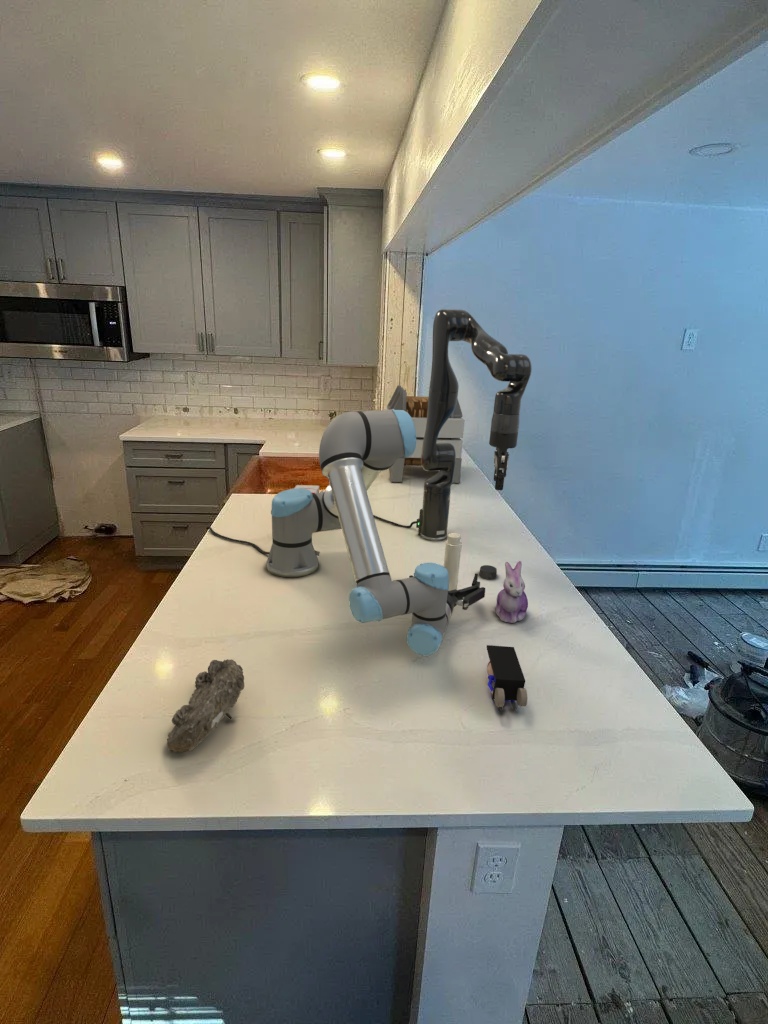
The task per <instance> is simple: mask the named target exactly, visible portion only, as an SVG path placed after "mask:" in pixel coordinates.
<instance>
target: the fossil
mask: <svg viewBox="0 0 768 1024" xmlns="http://www.w3.org/2000/svg"><path fill="white" fill-rule="evenodd" d="M243 670H244V669H243V667H242V665H240V664H237V662H236V661H235V660H234V659H232V658H231V659H227V658H226V659H224V660H223V661H222V660H217V659H212V660H211V661H210V663H209V665H208V666H207V671H201V672H199V673H198V674H197V675H196V676H195V680H194V684H195V685H194V687H195V689H194V690H193V693H192V694H191V697H190V698H189V700H188V704H184V705H182V706H181V707H180V709H177V710H176V711H175V713H174V715H173V716H172V718H171V723H172V724H173V727H172V730H171V731H170V732H168V734H167V738H166V741H167V742H166V745H167V749H168V750H169V751H173V752H174V753H176V754H178V753H182V752H188V751H189V752H192V751H193V750H195V748H196V747H197V746H199V744H200V743H201V742H203V741H204V740H205V739H206V738H207V737H208V736H209V735H210V734H211V733H212V732H214V730H215V729H217V727H218V726H219V724H220V722H221V721H222V720H223V719H224V718H225V716H226V717H227V719H229V720H233V717H232V715H230V714H229V710H230V709H231V708H234V706H235V704H236V703H237V702H238V699H239V697H240V695H241V693H242V691H243V690H245V689H244V688H245V675H244V671H243Z"/></svg>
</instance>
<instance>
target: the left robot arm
mask: <svg viewBox="0 0 768 1024" xmlns="http://www.w3.org/2000/svg"><path fill="white" fill-rule="evenodd" d="M415 448H416V430H415V426H414V422H413V420H412V418H411V416H410V415H409V414H408V413H407V412H406V411H404V410H394V409H391V410H387V409H379V410H361V411H360V410H359V411H353V410H352V411H346V412H343V413H341V414H339V415H337V416H336V417H334V418H333V419H332V420H331V421H330V422H329V423H328V425H327V426H326V428H325V429H324V432H323V433H322V435H321V439H320V443H319V449H318V461H319V466H320V469H321V470H320V471H321V473H322V476H323V477H325V478H327V480H328V483H329V484H328V485H327V487H326V488H325V489H324V492H323V493H320V492H319V493H314V494H312V493H311V491H310V490H308V489H302V488H301V489H298V488H296V489H294V488H289V489H285V490H283V491H280V492H277V494H275V495H274V496H273V498H272V499H271V509H270V515H271V539H272V544H271V546H270V550H269V551H264V550H263V549H262V548H260V547H259V546H258V545H257V544H255V543H253V542H252V541H251V542H250V541H247V540H242V539H236V538H231V537H228V536H224V535H222V534H219V533H218V532H216V531H214V530H213V528H212V526H210V525H209V526H207V527H206V528H205V529H206V530H210V532H211V533H212V534H213V535H215V536H217V537H219V538H222V539H224V540H228V541H231V542H236V543H240V544H246V545H250V546H252V547H254V548H256V549H257V550H258V551H259V552H260V553H261V554H264V555H268V556H267V559H266V569H267V571H268V572H269V573H270V574H272V575H274V576H277V577H283V578H298V577H305V576H308V575H311V574H312V573H313V574H314V572H316V571H317V570H318V568H319V558H318V557H321V552H320V551H319V550H315V547H314V544H313V534H315V533H321V532H329V531H335V530H341V532H342V535H343V539H344V543H345V547H346V550H347V554H348V558H349V561H350V567H351V569H352V573H353V577H354V580H355V584H356V587H354V588H352V589H351V590H350V592H349V595H348V601H349V610H350V612H351V615H352V617H353V618H354V620H355V621H356V622H358V623H361V624H365V623H372V622H381V621H383V620H386V619H390V618H396V617H399V616H404V615H409V614H411V622H410V623H411V624H410V627H409V628H408V629H407V635H406V642H407V645H408V647H409V649H410V650H411V651H412V652H414V653H415V654H417V655H419V656H425V657H427V656H431V655H434V654H435V653H436V652H438V650H439V648H440V646H441V645H442V644H443V639H444V636H445V633H446V630H447V628H448V625H449V622H450V620H451V616H452V614H453V612H454V609H455V607H457V606H459V607H462V610H464V611H468V608H469V607H470V606H472V605H474V604H475V603H477V602H479V601H480V600H482V599H484V598H485V596H486V587H484V586H482V587H481V581H478V579H479V574H478V573H474V576H473V579H472V581H471V585H470V586H467V587H464V588H461V589H457V590H456V589H454V590H451V591H448V589H449V574H448V571H447V569H446V568H444V565H442V564H439V563H436V562H423V563H419V565H416V567H415V569H414V573H413V575H411V574H410V575H409V576H408V577H405V578H401V579H400V578H399V579H395V580H392V576H391V574H390V570H389V567H388V564H387V560H386V557H385V553H384V549H383V545H382V542H381V539H380V535H379V531H378V527H377V524H376V523H377V522H376V520H375V518H374V516H373V515H374V513H373V509H372V506H371V502H370V500H369V499H370V498H369V495H368V490H369V489H370V487H371V486H372V485H373V483H374V482H375V480H376V479H377V477H378V476H379V475H380V473H381V472H383V471H384V472H385V471H387V470H390V467H391V466H392V465H393V464H394V463H395V461H396V460H397V459H398V458H402V457H403V458H406V457H410V456H411V455H412V454H413V453H414V451H415Z"/></svg>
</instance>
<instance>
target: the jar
mask: <svg viewBox="0 0 768 1024" xmlns="http://www.w3.org/2000/svg"><path fill="white" fill-rule="evenodd" d="M446 539H447V540H446V541H445V545H444V555H443V556H444V557H443V567H444V568H446V569H447V571H448V574H449V589H448V591H451V590H454V589H456V590H458V586H459V585H458V584H459V573H460V562H461V554H462V553H461V552H462V541H461V540H462V536H461V534H460V533H457V532H449V533H447V538H446Z"/></svg>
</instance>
